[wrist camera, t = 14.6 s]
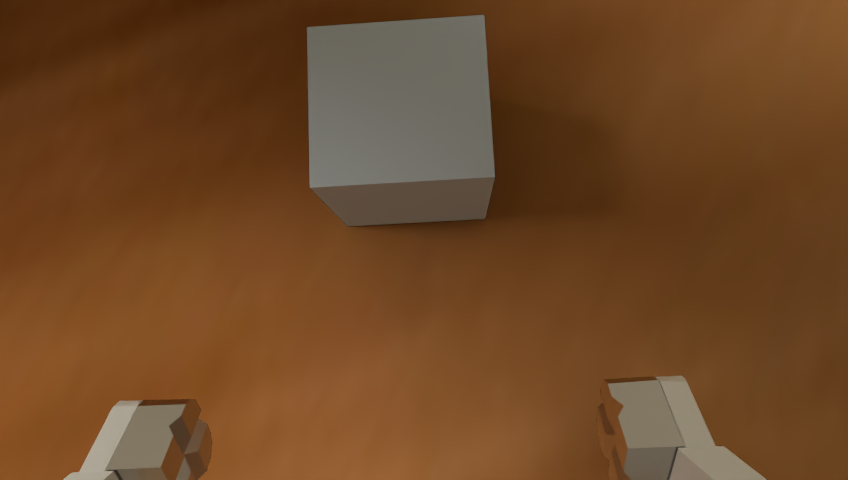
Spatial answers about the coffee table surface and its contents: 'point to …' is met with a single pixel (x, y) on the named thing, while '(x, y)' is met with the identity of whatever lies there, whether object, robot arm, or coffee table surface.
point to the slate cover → (401, 120)
